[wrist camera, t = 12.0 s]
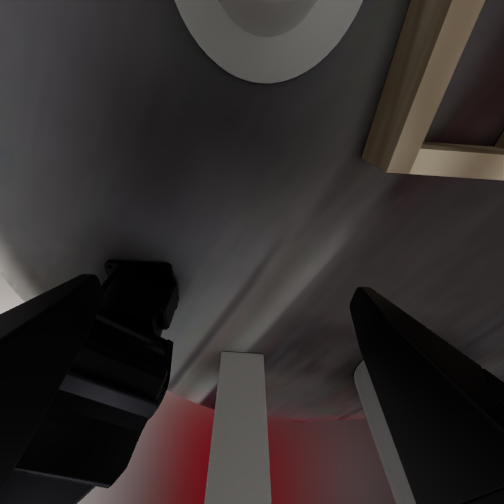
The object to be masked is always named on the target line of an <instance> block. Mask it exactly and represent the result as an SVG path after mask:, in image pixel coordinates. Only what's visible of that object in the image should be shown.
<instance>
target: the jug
mask: <svg viewBox="0 0 504 504" xmlns="http://www.w3.org/2000/svg"><path fill="white" fill-rule="evenodd" d="M218 1H219V2H220V4H221V6H222V8H223V9H224V11H225V12H226V14H227V15H228V16H229V18H230V19H231V20H232V21H233V22H234V23H235V24H236V25H237V26H239V27H240V28H241V29H243V30H244V31H246V32H248V33H250V34H253V35H256V36H260V37H273V36H278V35H281V34H284V33H286V32H288V31H290V30H291V29H293V28H294V27H296V26H297V25H298V24H299V23H300V22H301V21H302V20H303V19H304V18H305V17H306V16H307V15H308V13H309V12H310V11H311V9H312V8H313V6H314V5H315V4H316V2H317V1H318V0H218Z"/></svg>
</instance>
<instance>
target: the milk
mask: <svg viewBox="0 0 504 504" xmlns="http://www.w3.org/2000/svg"><path fill="white" fill-rule="evenodd" d="M270 488H271V487H270V468H269V449H268V431H267V411H266V392H265V373H264V355H263V354H253V353H239V352H224V351H222V352H221V360H220V369H219V378H218V387H217V396H216V405H215V414H214V423H213V432H212V441H211V450H210V459H209V468H208V476H207V485H206V494H205V503H204V504H271V489H270Z"/></svg>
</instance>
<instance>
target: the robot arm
mask: <svg viewBox="0 0 504 504" xmlns="http://www.w3.org/2000/svg"><path fill="white" fill-rule="evenodd" d="M110 265H111V266H110ZM104 266H105V269H106V272H107V275H108V278H107V280H106V281H105V282H104V283H103V285H102V286H101V284H100V281H99V279H98V277H97V276H96V275H93V274H82V275H79V276H77V277H75V278H73V279H71V280H69V281H67V282H65V283H63V284H61V285H59V286H57V287H55V288H53V289H51V290H49V291H47V292H45V293H43V294H41V295H39V296H37V297H35V298H33V299H31V300H29V301H27V302H25V303H23V304H21V305H19V306H16V307H15V308H12V309H10V310H9V311H6V312H4V313H2V314H0V504H77V503H78V502H79V501H80V500H81V499H83V498H84V497H85V496H86V495H87V494H88V493H89V492H90V491H91V490H92V489H93V488H94V487H95V486H98V487H104V488H109V487H110V486H112V484H113V483H114V482H115V481H116V480H117V479H118V477H119V476H120V475H121V474H122V473H123V471H124V470H125V469H126V468H127V466H128V463H129V461H130V458H131V456H132V453H133V451H134V449H135V446H136V444H137V441H138V439H139V437H140V435H141V432H142V430H143V428H144V426H145V424H146V423H147V421H148V420H149V419H150V418H151V417H152V416H153V414H154V413H155V411H156V410H157V409H158V407H159V405H160V403H161V402H162V400H163V398H164V395H165V393H166V390H167V387H168V384H169V379H170V371H171V361H172V351H173V342H172V341H170V340H166V339H164V338H162V337H160V336H161V333H162V331H163V330H167V329H168V328H169V326H170V323H171V321H172V318H173V315H174V312H175V310H176V309H177V306H178V304H177V303H178V301H179V296H178V289H177V283H176V282H175V281H174V279H173V272H172V267H171V265H170V264H168V263H157V262H137V261H116V260H108V261H107V262H106V263H105V265H104ZM165 267H166V268H168V269H166V268H165ZM350 312H351V316H352V320H353V324H354V328H355V332H356V336H357V340H358V344H359V347H360V351H361V354H362V357H363V359H364V362H365V365H366V368H367V370H368V373H369V376H370V379H371V381H372V384H373V387H374V390H375V392H376V395H377V398H378V401H379V403H380V406H381V409H382V412H383V414H384V417H385V420H386V423H387V425H388V428H389V431H390V434H391V436H392V439H393V442H394V445H395V447H396V450H397V453H398V456H399V458H400V461H401V464H402V467H403V469H404V472H405V475H406V478H407V480H408V483H409V486H410V489H411V491H412V494H413V497H414V500H415V502H416V504H504V382H502V381H501V380H499V379H498V378H497V377H495V376H494V375H493V374H491V373H490V372H488V371H487V370H486V369H482V367H481V366H480V365H478V364H477V363H476V362H474V361H473V360H471V359H470V358H469V357H467V356H466V355H464V354H463V353H462V352H460V351H459V350H457V349H456V348H455V347H453V346H452V345H450V344H449V343H448V342H446V341H445V340H443V339H442V338H440V337H439V336H438V335H436V334H435V333H433V332H432V331H431V330H429V329H428V328H426V327H425V326H424V325H422V324H421V323H419V322H418V321H417V320H415V319H414V318H412V317H411V316H410V315H408V314H407V313H405V312H404V311H403V310H401V309H400V308H398V307H397V306H396V305H394V304H393V303H391V302H390V301H389V300H387V299H386V298H384V297H383V296H382V295H380V294H379V293H377V292H376V291H375V290H373V289H372V288H370V287H358V288H357V289H356V291H355V293H354V295H353V297H352V300H351V302H350Z"/></svg>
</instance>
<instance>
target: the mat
mask: <svg viewBox="0 0 504 504" xmlns="http://www.w3.org/2000/svg"><path fill="white" fill-rule="evenodd" d="M362 2H363V0H318V1H317V2H316V4H315V5H314V6H313V8H312V9H311V11H310V12H309V13H308V15H307V16H306V17H305V18H304V19H303V20H302V21H301V22H300V23H299V24H298V25H297V26H296V27H294V28H293V29H291V30H290V31H288V32H286V33H284V34H281V35H278V36H273V37H260V36H256V35H253V34H250V33H248V32H246V31H244V30H243V29H241V28H240V27H239V26H237V25H236V24H235V23H234V22H233V21H232V20H231V19H230V18H229V16H228V15H227V14H226V12H225V11H224V9H223V8H222V6H221V4H220V2H219V1H218V0H175V3H176V5H177V8H178V10H179V12H180V15H181V17H182V19H183V21H184V22H185V24H186V26H187V28H188V30H189V32H190V33H191V34H192V36H193V37H194V39H195V40H196V42H197V43H198V45H199V46H200V47H201V48H202V49H203V51H204V52H205V53H206V54H207V55H208V56H209V57H210V58H211V59H212V60H213V61H214V62H215V63H216V64H217V65H218V66H220V67H221V68H223V69H224V70H225V71H227V72H228V73H230V74H232V75H234V76H236V77H238V78H240V79H243V80H246V81H249V82H254V83H264V84H271V83H277V82H283V81H286V80H289V79H292V78H294V77H297V76H299V75H301V74H303V73H305V72H306V71H308V70H309V69H311V68H312V67H314V66H315V65H317V64H318V63H319V62H320V61H321V60H322V59H323V58H325V57H326V56H327V55H328V54H329V53H330V52H331V50H332V49H333V48H334V47H335V46H336V45H337V44H338V42H339V41H340V40H341V38H342V37H343V36H344V34H345V33H346V31H347V30H348V28H349V27H350V25H351V23H352V21H353V20H354V18H355V16H356V14H357V12H358V10H359V8H360V6H361V4H362Z"/></svg>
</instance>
